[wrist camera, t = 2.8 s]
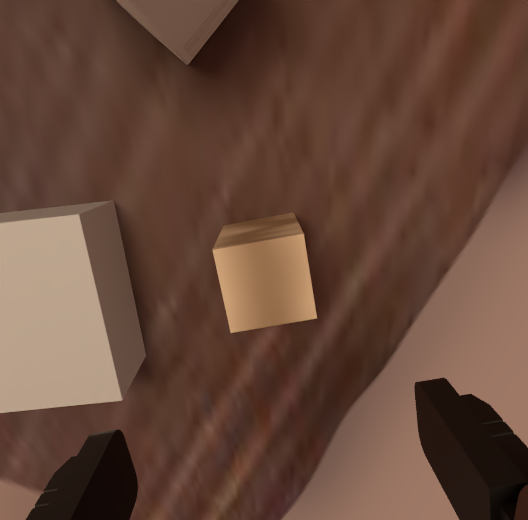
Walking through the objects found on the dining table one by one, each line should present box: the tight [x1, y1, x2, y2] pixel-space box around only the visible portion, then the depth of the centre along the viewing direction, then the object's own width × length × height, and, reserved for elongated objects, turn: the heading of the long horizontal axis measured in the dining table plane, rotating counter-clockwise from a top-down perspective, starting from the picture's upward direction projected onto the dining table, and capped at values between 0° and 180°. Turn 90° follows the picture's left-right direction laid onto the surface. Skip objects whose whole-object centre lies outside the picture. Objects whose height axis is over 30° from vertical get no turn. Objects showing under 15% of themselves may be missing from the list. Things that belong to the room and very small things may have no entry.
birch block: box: [213, 213, 317, 333], centre depth 27 cm, size 5×5×7 cm
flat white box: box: [0, 201, 146, 413], centre depth 28 cm, size 12×12×6 cm
